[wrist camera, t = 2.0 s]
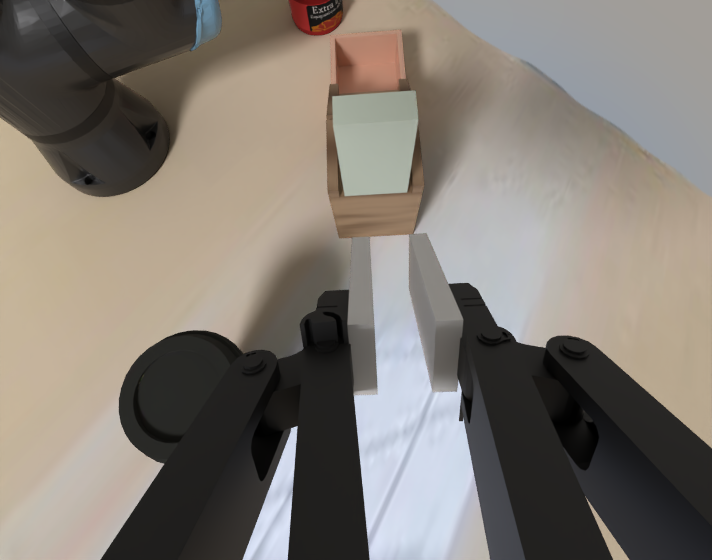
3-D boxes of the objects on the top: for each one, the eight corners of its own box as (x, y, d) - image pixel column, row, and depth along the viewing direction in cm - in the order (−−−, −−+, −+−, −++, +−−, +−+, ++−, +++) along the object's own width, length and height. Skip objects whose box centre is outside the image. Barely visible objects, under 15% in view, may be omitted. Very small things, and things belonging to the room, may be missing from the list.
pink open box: (404, 122, 50) (407, 94, 45) (335, 127, 50) (331, 99, 45) (399, 62, 53) (401, 29, 48) (334, 67, 53) (330, 35, 48)
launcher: (412, 234, 45) (424, 185, 34) (339, 238, 45) (327, 191, 35) (403, 121, 50) (410, 47, 39) (336, 125, 50) (325, 54, 39)
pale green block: (407, 192, 35) (418, 119, 26) (344, 196, 36) (333, 125, 26) (405, 169, 36) (415, 90, 27) (343, 173, 36) (332, 96, 27)
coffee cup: (270, 332, 42) (216, 303, 28) (306, 414, 40) (266, 428, 25) (191, 372, 42) (93, 364, 27) (221, 458, 39) (131, 499, 25)
